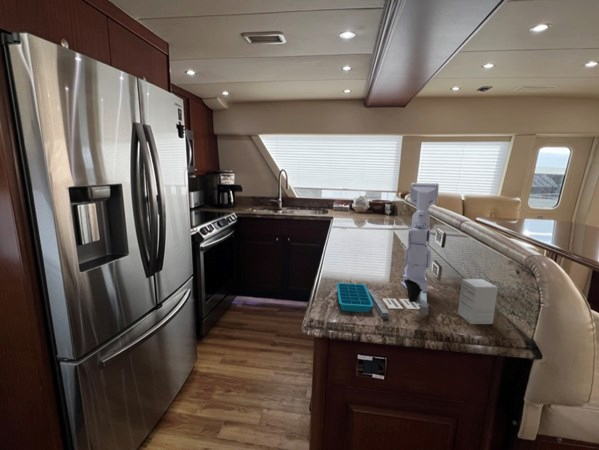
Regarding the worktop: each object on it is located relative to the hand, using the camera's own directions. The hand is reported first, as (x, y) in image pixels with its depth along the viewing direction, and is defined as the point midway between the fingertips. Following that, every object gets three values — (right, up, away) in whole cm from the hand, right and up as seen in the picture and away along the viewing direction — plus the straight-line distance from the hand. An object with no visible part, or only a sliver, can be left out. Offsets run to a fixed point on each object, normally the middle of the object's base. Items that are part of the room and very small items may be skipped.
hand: (412, 301), depth 96 cm
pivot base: (+6, -3, +6) cm, 9 cm away
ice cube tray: (-19, -2, +8) cm, 21 cm away
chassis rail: (-11, -3, +4) cm, 12 cm away
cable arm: (+3, -3, -1) cm, 4 cm away
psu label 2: (+1, -3, +6) cm, 6 cm away
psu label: (-5, -3, +6) cm, 8 cm away
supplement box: (+19, -5, -4) cm, 20 cm away
